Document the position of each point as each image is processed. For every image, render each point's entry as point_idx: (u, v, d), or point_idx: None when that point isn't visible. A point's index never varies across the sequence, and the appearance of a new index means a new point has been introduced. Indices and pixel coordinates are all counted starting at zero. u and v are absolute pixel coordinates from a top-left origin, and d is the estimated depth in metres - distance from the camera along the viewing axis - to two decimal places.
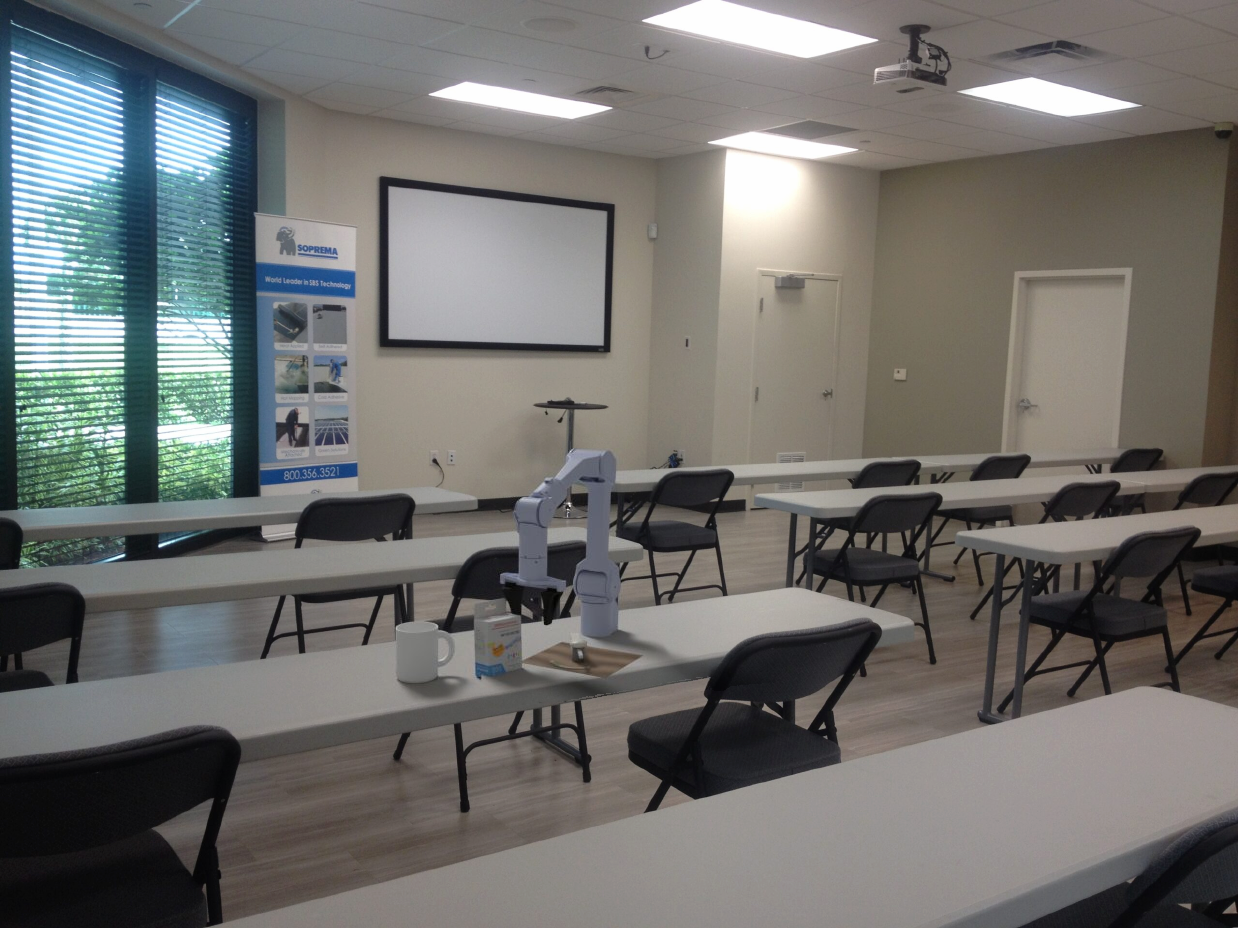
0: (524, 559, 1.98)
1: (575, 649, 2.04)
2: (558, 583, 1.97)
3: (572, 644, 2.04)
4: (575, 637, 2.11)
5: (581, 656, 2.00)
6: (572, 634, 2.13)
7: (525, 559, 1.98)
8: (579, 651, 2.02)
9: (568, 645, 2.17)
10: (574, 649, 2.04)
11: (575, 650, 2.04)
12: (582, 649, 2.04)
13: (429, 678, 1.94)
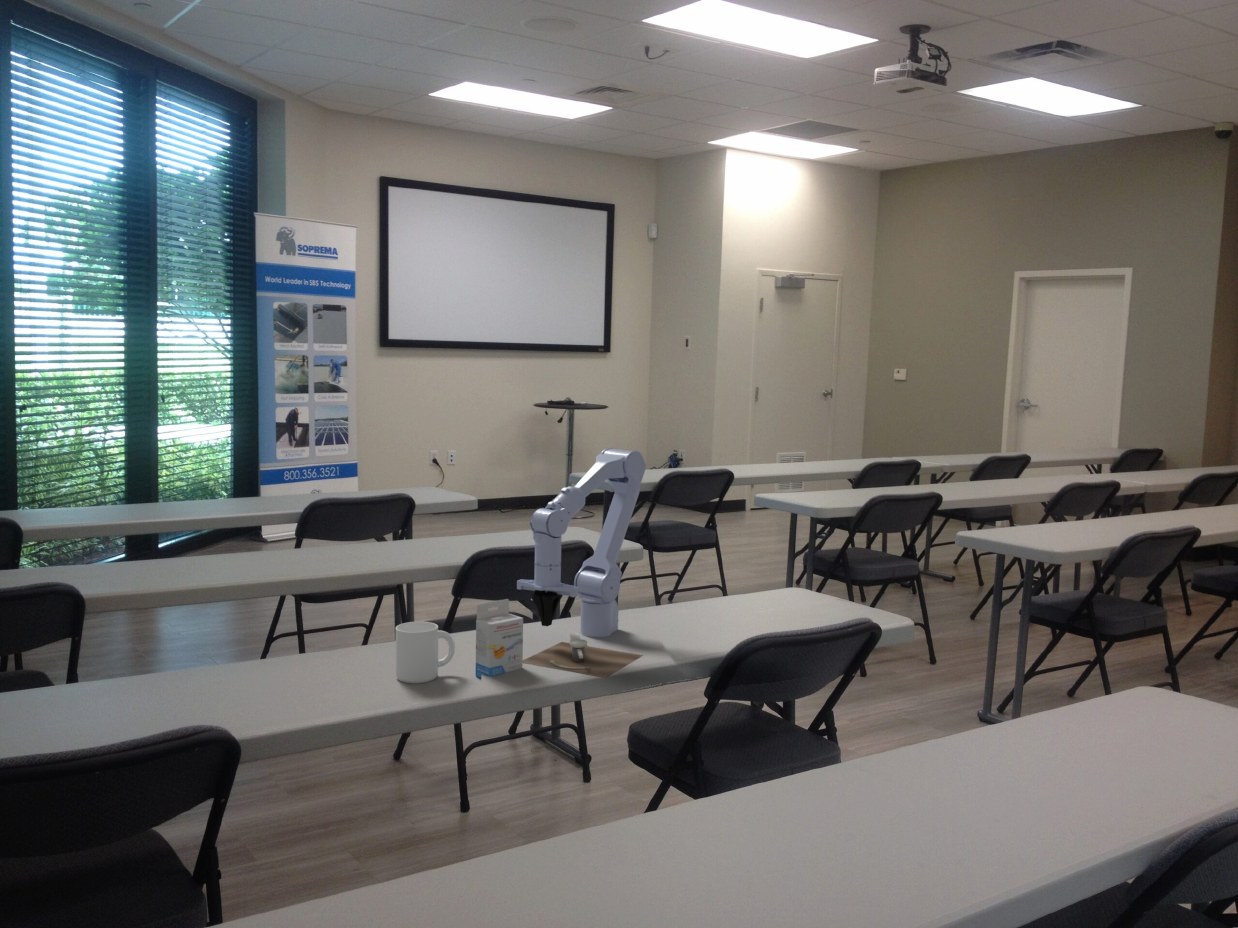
0: (540, 566, 2.12)
1: (575, 649, 2.04)
2: (571, 589, 2.11)
3: (572, 644, 2.04)
4: (575, 637, 2.11)
5: (581, 656, 2.00)
6: (572, 634, 2.13)
7: (540, 566, 2.12)
8: (579, 651, 2.02)
9: (568, 645, 2.17)
10: (574, 649, 2.04)
11: (575, 650, 2.04)
12: (582, 649, 2.04)
13: (429, 678, 1.94)
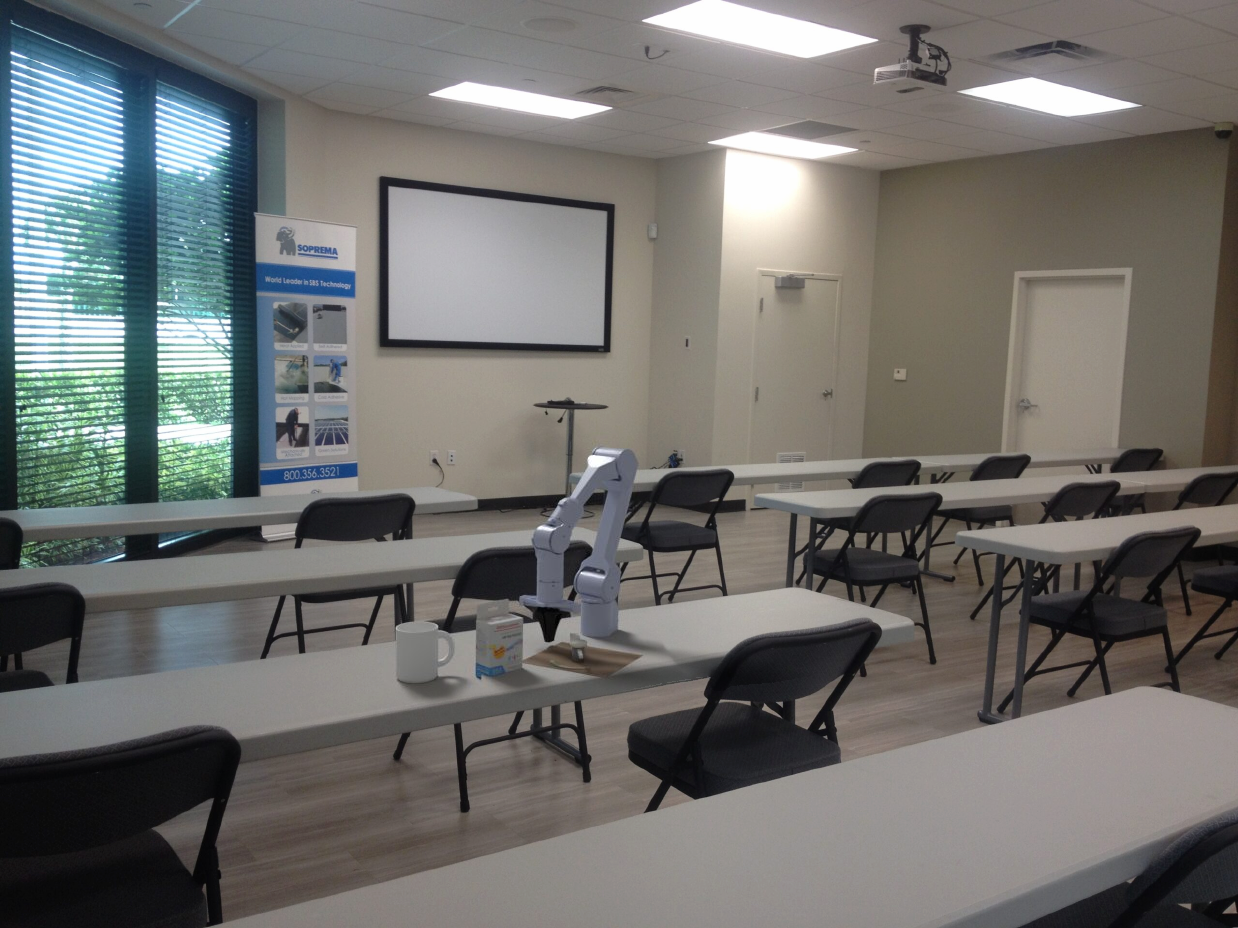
0: (542, 583, 2.12)
1: (575, 649, 2.04)
2: (574, 605, 2.11)
3: (572, 644, 2.04)
4: (575, 637, 2.11)
5: (581, 656, 2.00)
6: (572, 634, 2.13)
7: (543, 583, 2.12)
8: (579, 651, 2.02)
9: (568, 645, 2.17)
10: (574, 649, 2.04)
11: (575, 650, 2.04)
12: (582, 649, 2.04)
13: (429, 678, 1.94)
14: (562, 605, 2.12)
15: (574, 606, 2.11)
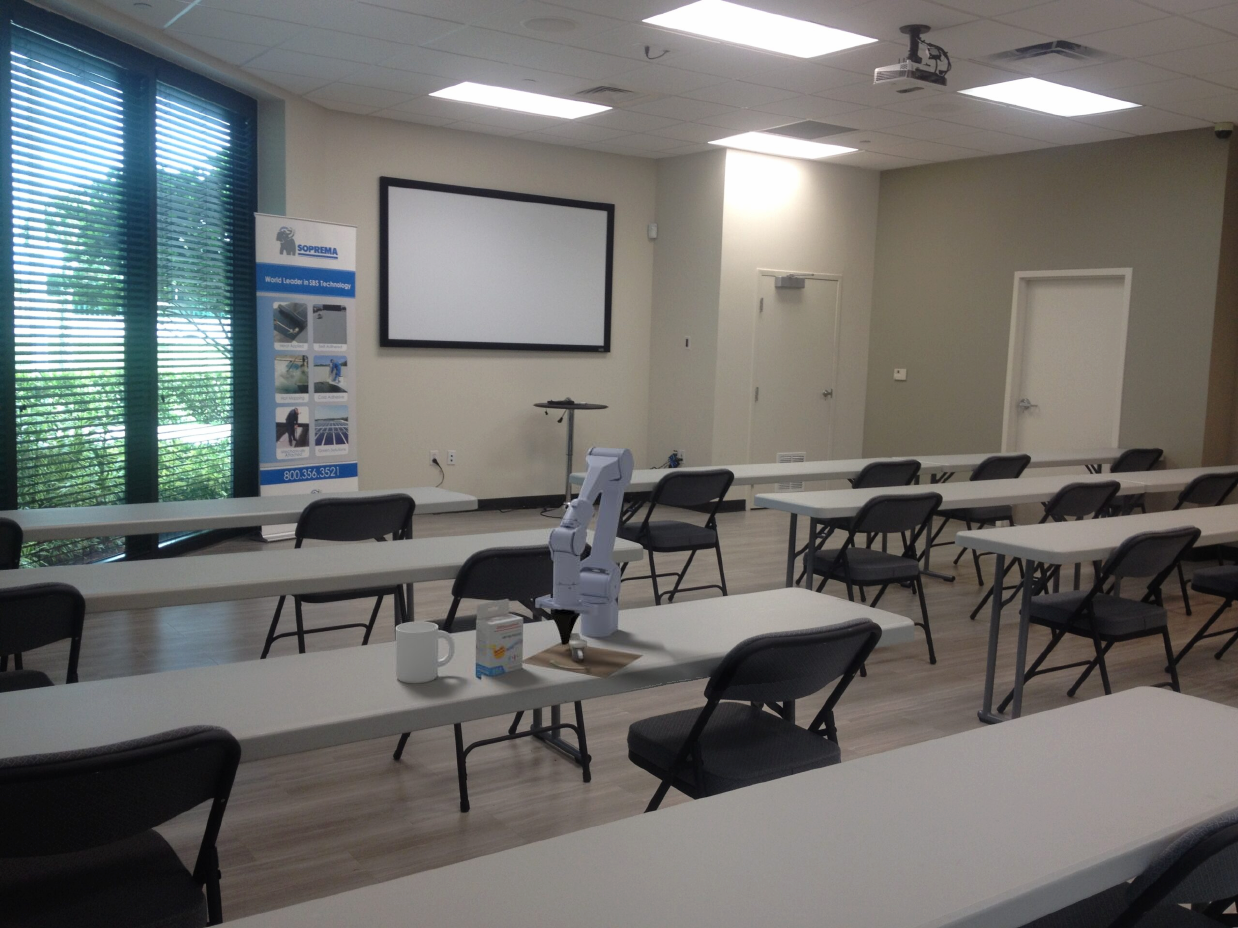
0: (558, 585, 2.11)
1: (575, 649, 2.04)
2: (590, 608, 2.10)
3: (572, 644, 2.04)
4: (575, 637, 2.11)
5: (581, 656, 2.00)
6: (572, 634, 2.13)
7: (559, 585, 2.11)
8: (579, 651, 2.02)
9: (568, 645, 2.17)
10: (574, 649, 2.04)
11: (575, 650, 2.04)
12: (582, 649, 2.04)
13: (429, 678, 1.94)
14: (579, 607, 2.10)
15: (591, 609, 2.10)
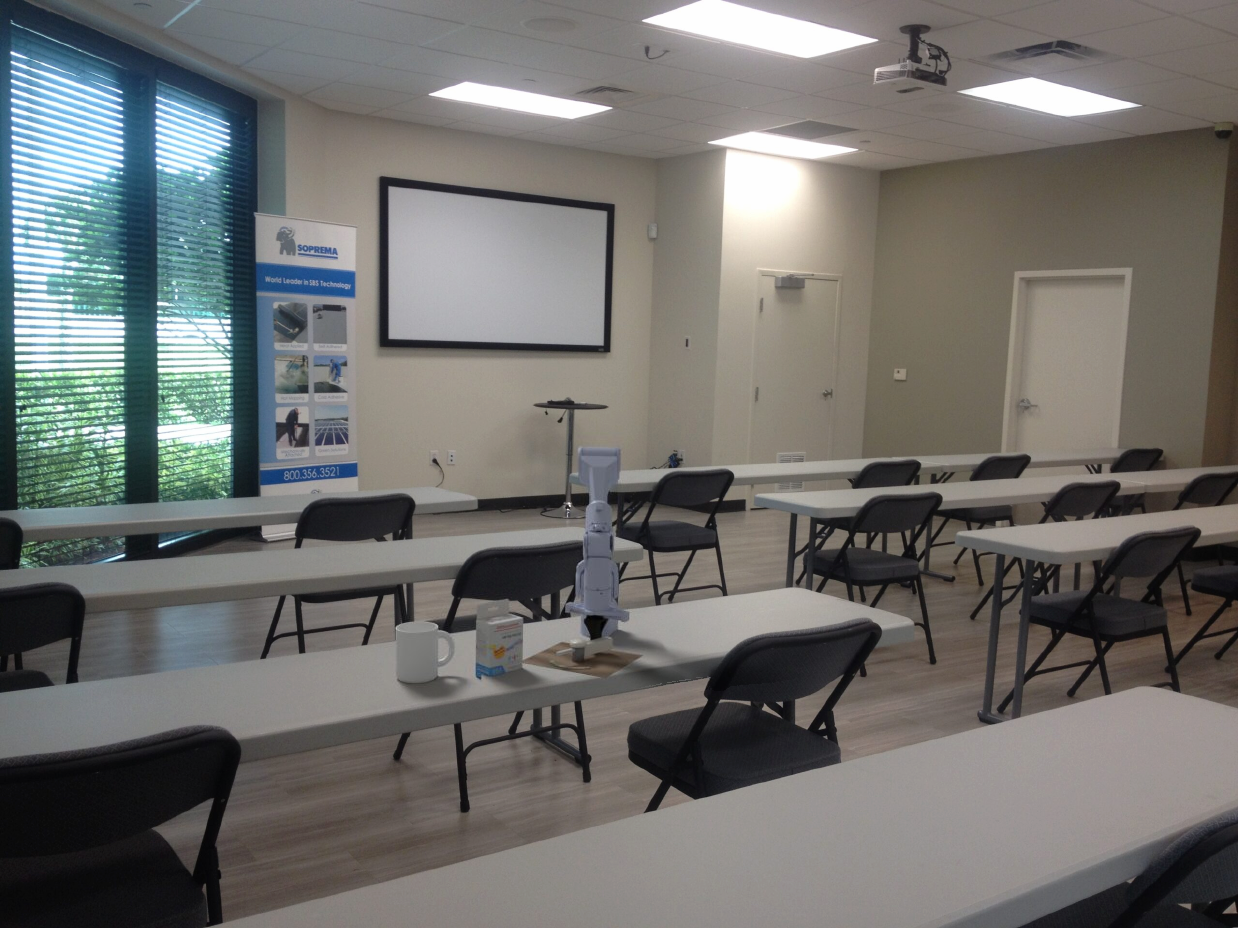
0: (590, 591, 2.07)
1: (572, 648, 2.05)
2: (622, 614, 2.07)
3: None
4: (597, 640, 2.09)
5: (557, 653, 2.01)
6: (604, 637, 2.11)
7: (591, 591, 2.07)
8: (567, 649, 2.03)
9: (568, 645, 2.17)
10: (572, 648, 2.05)
11: None
12: (577, 649, 2.04)
13: (429, 678, 1.94)
14: (610, 613, 2.07)
15: (623, 614, 2.06)
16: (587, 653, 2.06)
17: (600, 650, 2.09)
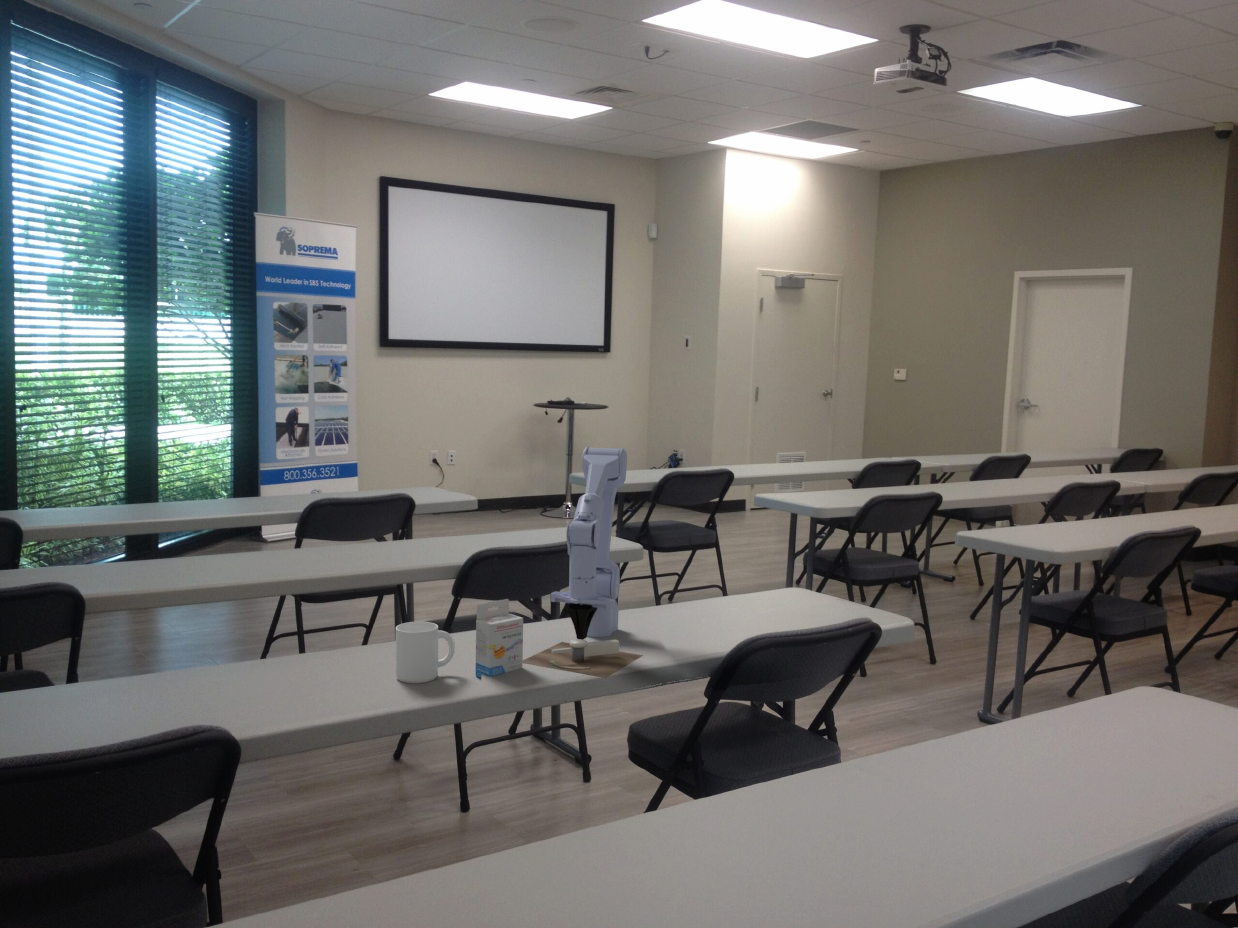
0: (575, 579, 2.09)
1: None
2: (607, 602, 2.08)
3: None
4: (602, 642, 2.08)
5: (552, 651, 2.03)
6: (612, 640, 2.09)
7: (576, 579, 2.09)
8: (564, 648, 2.04)
9: (568, 645, 2.17)
10: None
11: None
12: (575, 649, 2.04)
13: (429, 678, 1.94)
14: (595, 602, 2.08)
15: (608, 603, 2.08)
16: (587, 654, 2.05)
17: (604, 652, 2.07)
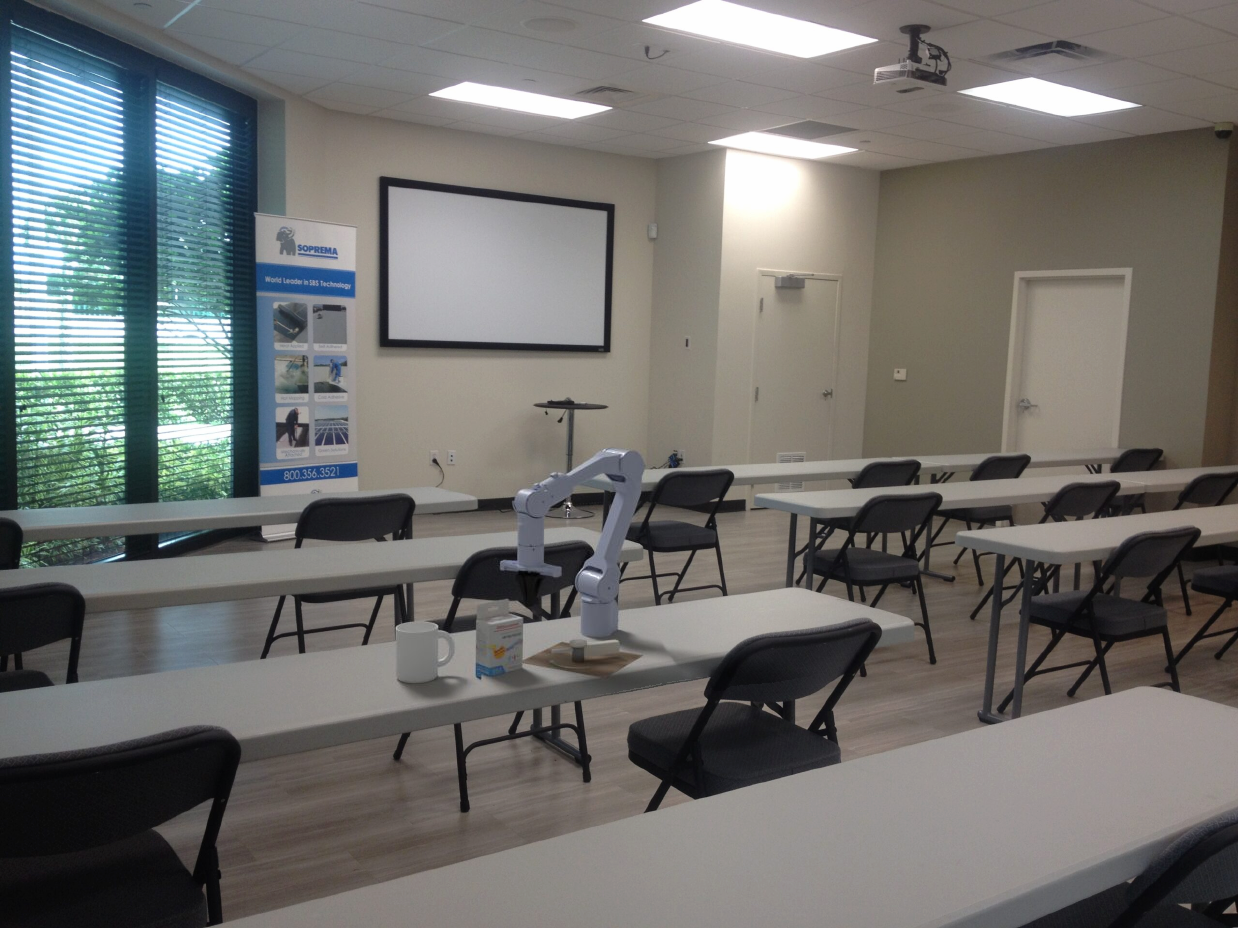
0: (522, 547, 2.12)
1: None
2: (554, 569, 2.11)
3: None
4: (602, 642, 2.08)
5: (552, 651, 2.03)
6: (612, 640, 2.09)
7: (523, 547, 2.12)
8: (564, 648, 2.04)
9: (568, 645, 2.17)
10: None
11: None
12: (575, 649, 2.04)
13: (429, 678, 1.94)
14: (542, 569, 2.12)
15: (554, 570, 2.11)
16: (587, 654, 2.05)
17: (604, 652, 2.07)
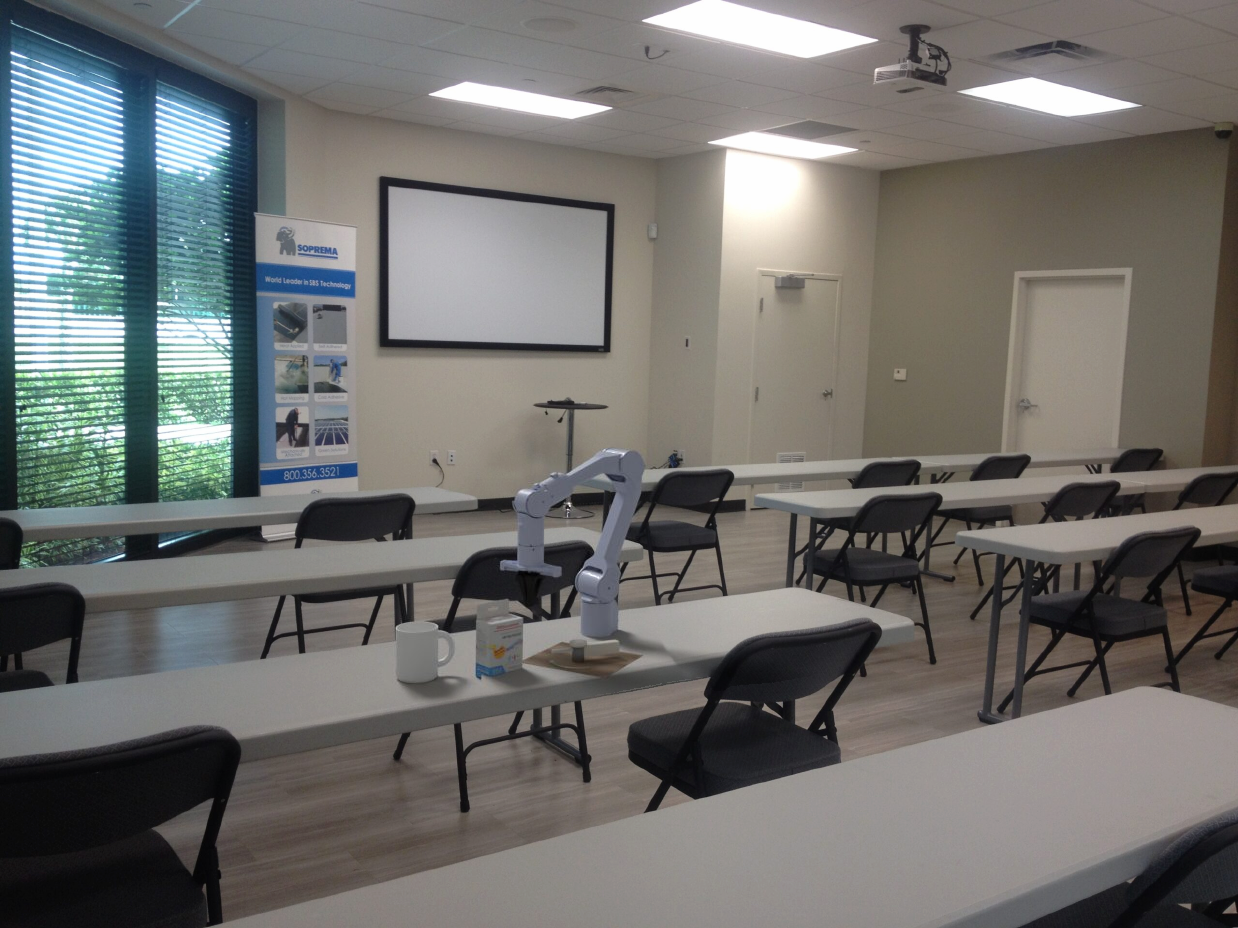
0: (522, 547, 2.12)
1: None
2: (554, 569, 2.11)
3: None
4: (602, 642, 2.08)
5: (552, 651, 2.03)
6: (612, 640, 2.09)
7: (523, 547, 2.12)
8: (564, 648, 2.04)
9: (568, 645, 2.17)
10: None
11: None
12: (575, 649, 2.04)
13: (429, 678, 1.94)
14: (542, 569, 2.12)
15: (554, 570, 2.11)
16: (587, 654, 2.05)
17: (604, 652, 2.07)
